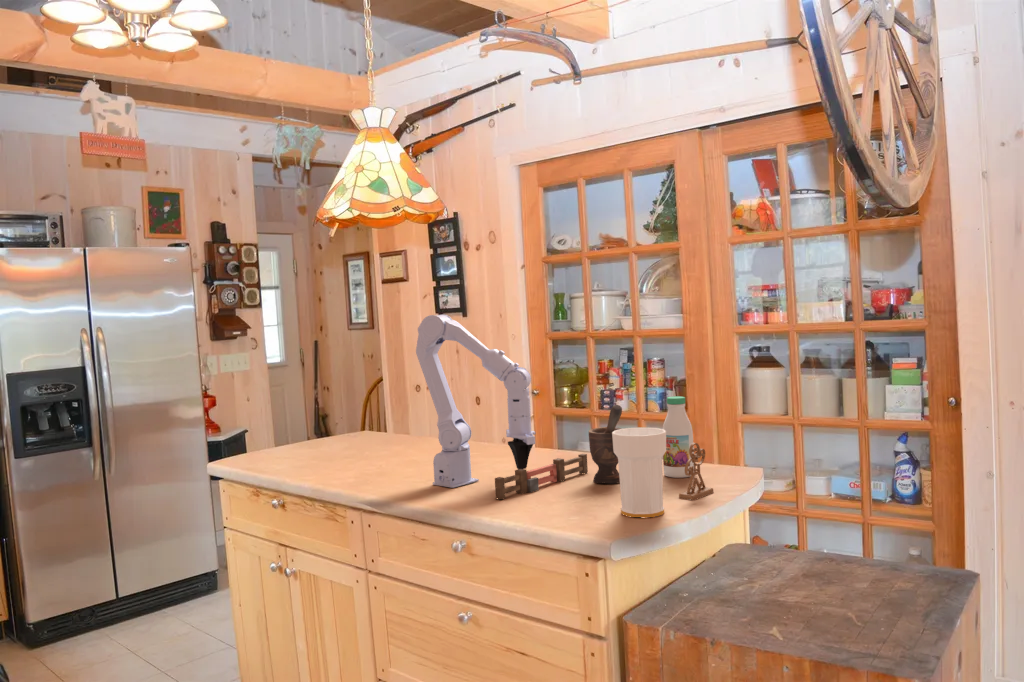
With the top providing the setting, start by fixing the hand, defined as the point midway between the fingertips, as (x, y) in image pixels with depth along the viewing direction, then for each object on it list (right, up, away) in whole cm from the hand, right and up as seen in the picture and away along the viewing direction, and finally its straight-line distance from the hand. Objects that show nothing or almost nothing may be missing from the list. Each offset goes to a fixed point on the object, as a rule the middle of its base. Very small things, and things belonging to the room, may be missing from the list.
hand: (521, 468), depth 204 cm
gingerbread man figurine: (+40, -3, -22) cm, 45 cm away
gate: (+5, -3, -5) cm, 8 cm away
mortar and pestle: (+23, -3, -5) cm, 23 cm away
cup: (+25, -4, -34) cm, 43 cm away
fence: (+6, -4, -5) cm, 8 cm away
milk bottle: (+40, -2, -1) cm, 40 cm away
